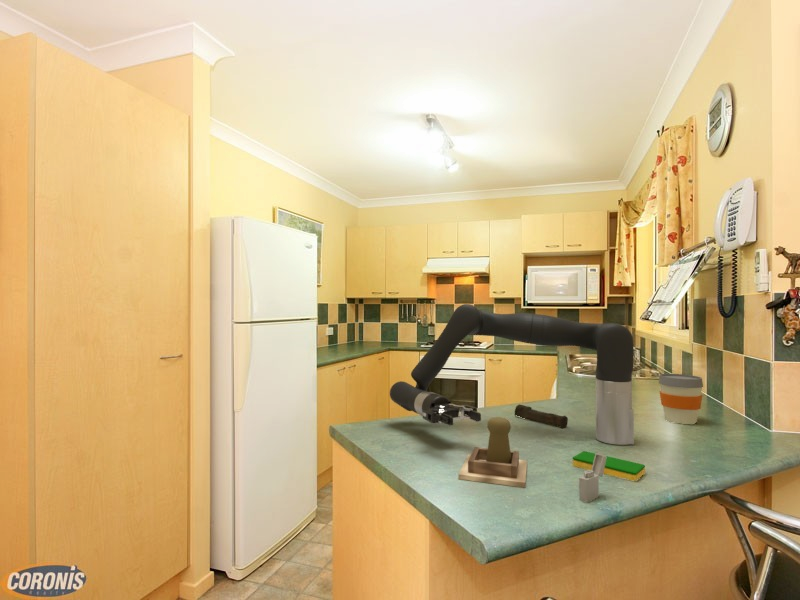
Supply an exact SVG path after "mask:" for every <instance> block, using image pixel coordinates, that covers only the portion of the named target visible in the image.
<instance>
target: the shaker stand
mask: <svg viewBox="0 0 800 600" xmlns="http://www.w3.org/2000/svg"><path fill="white" fill-rule="evenodd" d="M487 451H488V447H481V446H479V447H478V446H474V447H473V450H472V451H471V454H470V453H468V454H467V456H466V458H465V461H464V462H463V465H462V466H461V469H460V470H459V473H458V480H462V481H464V480H465V481H473V482H479V483H486V484H487V483H488V484H493V485H494V484H496V485H502V486H510V487H517V488H526V482H527V472H528V471H527V469H528V467H527V466H528V460H526V459H520V452H519V451H518V450H510V453H511V460H512V463H511V464H506V463H497V462H489V461H486V459H487Z"/></svg>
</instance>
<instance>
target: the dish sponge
mask: <svg viewBox="0 0 800 600" xmlns="http://www.w3.org/2000/svg"><path fill="white" fill-rule="evenodd" d="M595 453H596V452H595ZM595 453H594V452H590V451H586V450H583V451H581V452H580V453H577V454H576V455H574V456H573V457H572V466H573V467H577V468H579V469H582V470H583V469H585V470H586V471H587V470H592V466H593V461H594V457H595ZM605 456H606V457H607V459H606V463H605V468H604V472H603V473H604V474H603V475H606V474H608V475H607V476H610V475H612V476H611V477H614V476H617V477H616V478H618V477H621V478H620V479H622V478H626V479H629V480H634V481H637V479H639V478H640V477H641V476H642V475H643V474H644V473H645V474H646V468H645V467H646V465H645V464H643V463H639V462H638V463H637V462H634V461H630V460H626V459H621V458H616V457H612V456H608V455H605ZM645 474H644V475H645ZM644 475H643V476H644ZM643 476H642V477H643ZM642 477H641V478H642ZM641 478H640V479H641ZM640 479H639V480H640ZM629 480H628V481H629ZM637 482H638V481H637Z"/></svg>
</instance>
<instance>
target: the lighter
mask: <svg viewBox="0 0 800 600" xmlns="http://www.w3.org/2000/svg"><path fill="white" fill-rule="evenodd" d="M606 456H607V455H605V454H602V453H598V452H595V457H594V461H593V466H592V470H587V469H586V470H584V471H583V475H581V476H579V478H578V482H579V483H578V487H579V488H578V490H579V493H578V495H579V500H580V501H582V502H584V501H585V503H589V502H591V500H592V501H593V500H596V499H599V498H598V497H599V494H600V493H599V492H600V491H599V489H600V488H599V477H603V475H604V474H603V472H604V468H605V463H606V459H607V457H606ZM595 498H596V499H595Z"/></svg>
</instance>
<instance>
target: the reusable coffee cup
mask: <svg viewBox="0 0 800 600" xmlns="http://www.w3.org/2000/svg"><path fill="white" fill-rule="evenodd" d="M658 376H659V377H658V384H659V389H660V390H659V396H660V397H659V398H660V404H661V406H662V408H663V413H664V414H663V415H664V420H665V421H666V420H667V421H666V422H668V421H670V422H669V423H671V422H675V423H674V424H676V423H682V424H681V425H683V424H692V423H696V422H697V423H698V417H699V410H700V409H701V408H702V400H703V395H702V388H703V387H704V384H703V383H704V382H703V378H702V377H701V376H697V375H690V374H684V373H683V374H681V373H680V374H679V373H661V374H659V375H658Z"/></svg>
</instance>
